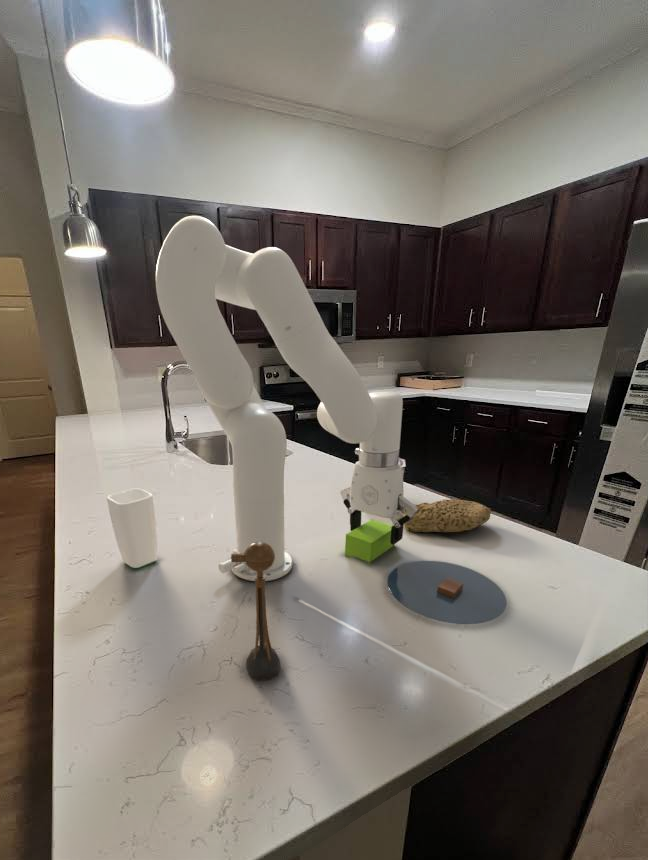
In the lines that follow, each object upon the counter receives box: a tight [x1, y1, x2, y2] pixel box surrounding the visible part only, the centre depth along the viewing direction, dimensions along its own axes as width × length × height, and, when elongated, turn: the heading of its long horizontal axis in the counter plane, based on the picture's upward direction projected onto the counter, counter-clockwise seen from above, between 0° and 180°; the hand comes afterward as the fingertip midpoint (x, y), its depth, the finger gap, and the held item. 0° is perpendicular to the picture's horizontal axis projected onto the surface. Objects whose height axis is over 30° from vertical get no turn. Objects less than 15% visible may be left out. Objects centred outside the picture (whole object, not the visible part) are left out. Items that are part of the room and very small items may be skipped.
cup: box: [106, 487, 158, 569], centre depth 85 cm, size 7×7×15 cm
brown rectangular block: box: [437, 578, 463, 598], centre depth 75 cm, size 4×3×1 cm
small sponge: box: [344, 519, 395, 563], centre depth 89 cm, size 10×6×5 cm, turn 136°
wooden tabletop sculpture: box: [230, 542, 281, 681], centre depth 55 cm, size 6×5×20 cm
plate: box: [386, 560, 507, 625], centre depth 76 cm, size 20×20×1 cm
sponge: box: [402, 498, 492, 533], centre depth 99 cm, size 13×8×20 cm
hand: (374, 535), depth 89 cm, fingers open, 9 cm apart
